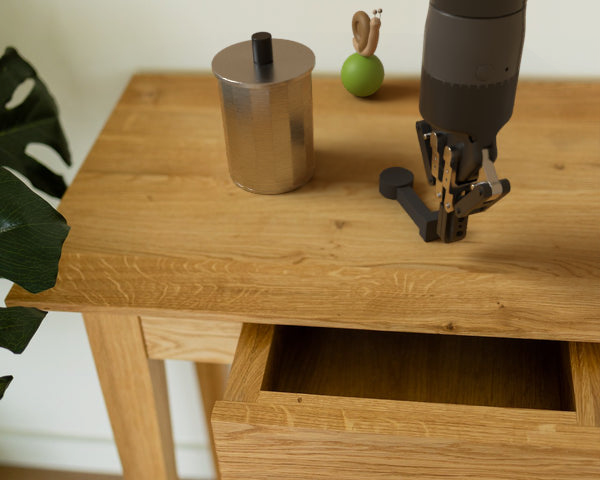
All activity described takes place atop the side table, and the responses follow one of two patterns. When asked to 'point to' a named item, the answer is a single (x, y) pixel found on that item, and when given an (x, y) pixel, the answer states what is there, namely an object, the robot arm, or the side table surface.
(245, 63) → the pot lid
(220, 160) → the side table surface
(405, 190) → the black disc-ended bar
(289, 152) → the pot
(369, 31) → the snail figurine
